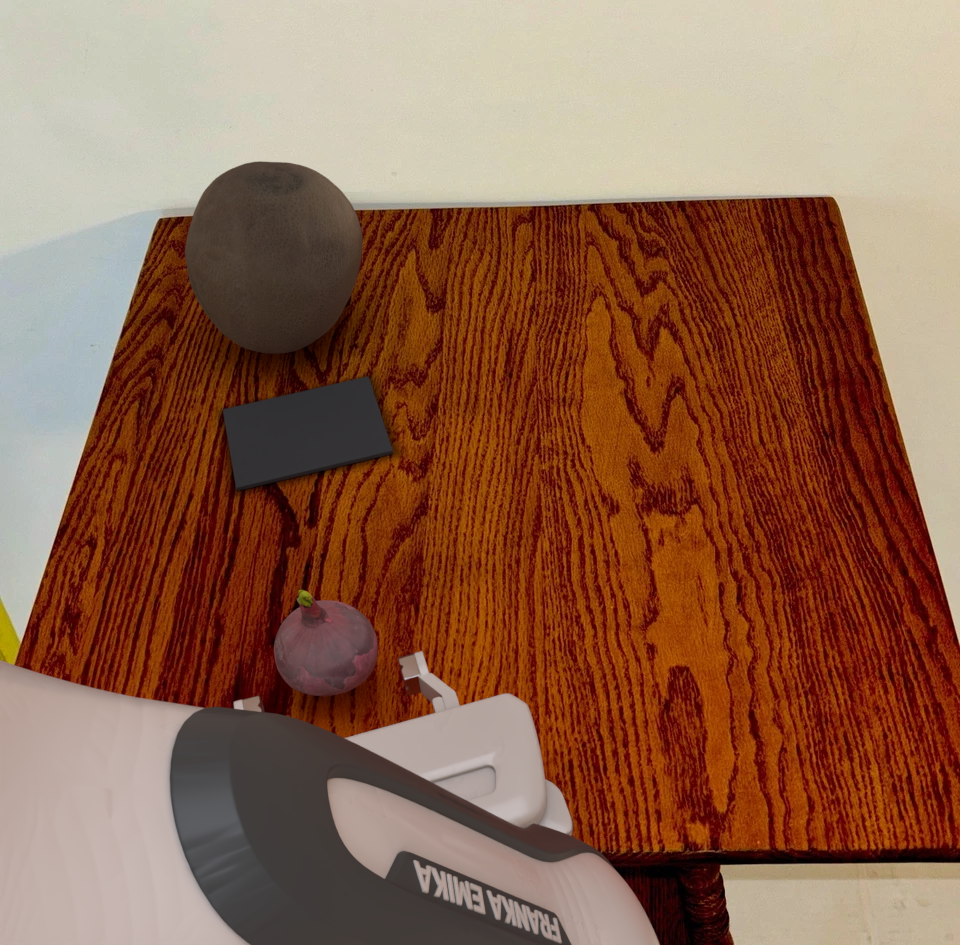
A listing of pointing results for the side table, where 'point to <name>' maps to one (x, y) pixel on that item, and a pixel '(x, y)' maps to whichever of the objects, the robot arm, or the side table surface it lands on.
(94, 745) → the robot arm
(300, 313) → the coconut
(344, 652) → the vegetable
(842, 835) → the side table surface
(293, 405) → the mat
